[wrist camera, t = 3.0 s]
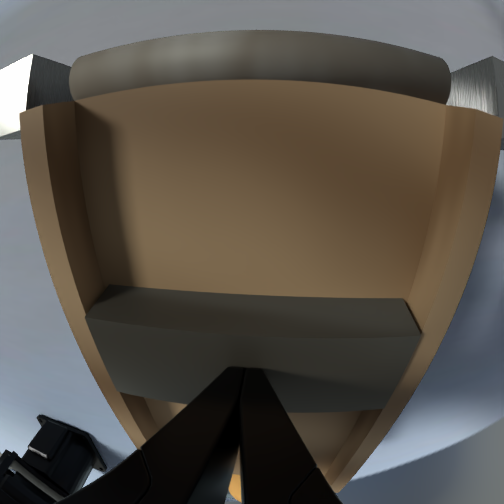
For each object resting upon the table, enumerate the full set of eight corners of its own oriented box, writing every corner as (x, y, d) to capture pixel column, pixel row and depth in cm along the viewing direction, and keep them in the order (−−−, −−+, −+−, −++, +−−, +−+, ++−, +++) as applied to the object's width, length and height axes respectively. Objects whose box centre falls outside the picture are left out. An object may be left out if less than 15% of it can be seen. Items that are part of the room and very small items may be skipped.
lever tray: (336, 458, 14) (339, 496, 12) (169, 448, 15) (159, 484, 13) (449, 67, 5) (513, 64, 3) (76, 64, 6) (9, 63, 4)
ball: (273, 497, 18) (274, 511, 15) (229, 494, 18) (223, 508, 15) (276, 460, 20) (278, 470, 16) (231, 457, 20) (226, 466, 17)
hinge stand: (408, 180, 13) (534, 211, 5) (122, 171, 14) (-9, 194, 6) (409, 82, 12) (522, 29, 3) (126, 77, 12) (6, 27, 4)
